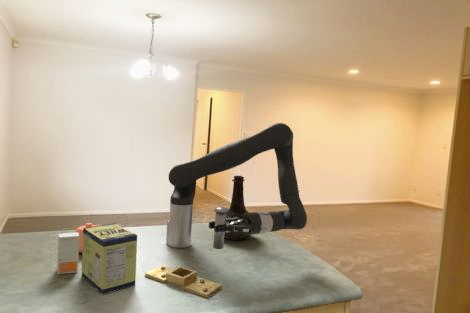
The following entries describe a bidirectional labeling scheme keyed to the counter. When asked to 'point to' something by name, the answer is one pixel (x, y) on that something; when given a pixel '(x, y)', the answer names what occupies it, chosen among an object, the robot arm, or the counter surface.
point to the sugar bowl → (80, 231)
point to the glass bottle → (237, 206)
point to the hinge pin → (219, 219)
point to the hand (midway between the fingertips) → (212, 226)
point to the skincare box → (68, 253)
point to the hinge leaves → (184, 280)
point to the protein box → (109, 257)
